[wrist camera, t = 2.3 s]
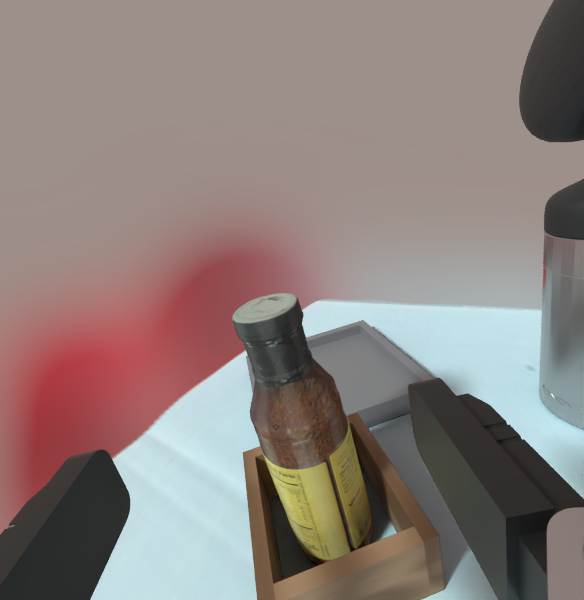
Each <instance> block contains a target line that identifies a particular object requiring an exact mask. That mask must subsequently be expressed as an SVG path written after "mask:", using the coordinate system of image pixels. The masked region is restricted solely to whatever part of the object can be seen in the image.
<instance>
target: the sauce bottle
mask: <svg viewBox="0 0 584 600" xmlns="http://www.w3.org/2000/svg"><path fill="white" fill-rule="evenodd" d="M232 318H233V323H234V327H235V329H236V333H237V335H238V337H239V339H240V340H241V341H242V342H243V343H244V346H245V348H246V351H247V354H248V357H249V360H250V363H251V366H252V373H253V375H254V377H255V382H254V391H253V398H252V403H251V409H250V416H251V420H252V423H253V425H254V428H255V430H256V433H257V435H258V438H259V442H260V445H261V449H262V452H263V455H264V458H265V460H266V463H267V466H268V469H269V471H270V474H271V476H272V479H273V481H274V484H275V487H276V489H277V492H278V494H279V497H280V499H281V502H282V504H283V507H284V509H285V512H286V514H287V517H288V520H289V522H290V525H291V527H292V530H293V533H294V535H295V538H296V540H297V542H298V543H299V545H300V546H301V548H302V549H303V551H304V552H305V553H306V555H307V556H309V557H310V559H311V560H313V561H314V562H316V563H317V564H320V565H321V564H323V563H326V562H328V561H331V560H333V559H336V558H338V557H340V556H343V555H345V554H348V553H350V552H353V551H355V550H357V549H360V548H362V547H365V546H367V545H369V543H370V540H371V538H372V533H373V522H372V519H371V508H370V503H369V499H368V495H367V491H366V488H365V484H364V480H363V476H362V473H361V469H360V465H359V461H358V457H357V453H356V450H355V446H354V442H353V438H352V434H351V430H350V426H349V422H348V418H347V416H346V414H345V412H344V410H343V406H342V401H341V398H340V394H339V391H338V390H337V387H336V384H335V381H334V379H333V377H332V376H331V375H330V374H329V373H328V372H327V371H326V370H325V369H324V368H323V367H322V366H321V365H320V364H319V363H317V362H316V361H315V360H314V359H313V358H312V353H311V351H310V350H309V348H308V344H307V341H306V337H305V334H304V331H303V326H302V319H303V312H302V310H301V307H300V304H299V302H298V298H297V297H296V296H294V295H293V294H287V293H280V294H273V295H269V296H263V297H259V298H256V299H254V300H252V301H249V302H248V303H246V304H244V305H243V306H241V307H240V308H239V309H238V310H237V311H236V312H235V313H234V315H233V317H232Z"/></svg>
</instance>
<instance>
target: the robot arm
mask: <svg viewBox="0 0 584 600" xmlns="http://www.w3.org/2000/svg"><path fill="white" fill-rule="evenodd" d="M519 104H520V112H521V116H522V120H523V122H524V124H525V126H526V128H527V129H528V130H529V131H530V132H531V134H532V135H534V136H536V137H537V138H539V139H541V140H544V141H548V142H574V141H580V140H584V0H554V1H553V3H552V5H551V6H550V8H549V10H548V12H547V14H546V15H545V17H544V19H543V21H542V23H541V25H540V27H539V29H538V31H537V33H536V36H535V38H534V41H533V43H532V46H531V49H530V51H529V53H528V56H527V60H526V63H525V66H524V70H523V75H522V80H521V85H520V95H519ZM408 394H409V402H410V410H411V418H412V425H413V433H414V438H415V441H416V445H417V448H418V450H419V453H420V455H421V457H422V459H423V461H424V463H425V465H426V467H427V469H428V470H429V472H430V474H431V476H432V478H433V480H434V482H435V483H436V485H437V487H438V489H439V491H440V493H441V494H442V496H443V498H444V500H445V502H446V504H447V505H448V507H449V509H450V511H451V513H452V515H453V517H454V518H455V520H456V522H457V524H458V526H459V528H460V529H461V531H462V533H463V535H464V537H465V539H466V541H467V542H468V544H469V546H470V548H471V550H472V552H473V553H474V555H475V557H476V559H477V561H478V563H479V565H480V566H481V568H482V570H483V572H484V574H485V576H486V577H487V579H488V581H489V583H490V585H491V587H492V588H493V590H494V592H495V594H496V596H497V598H498V600H584V499H583V498H582V497H581V496H580V495H579V494H578V493H577V492H576V491H575V490H574V489H573V488H572V487H571V486H570V485H569V484H568V483H567V482H566V481H565V480H564V479H563V478H562V477H561V476H560V475H559V474H558V473H557V472H556V471H555V470H554V469H553V468H552V467H551V466H550V465H549V464H548V463H547V462H546V461H545V460H544V459H543V458H542V457H541V456H540V455H539V454H538V453H537V452H536V451H535V450H534V449H533V448H532V447H531V446H530V445H529V444H528V443H527V442H526V441H525V440H522V439H521V437H520V435H519V434H518V433H517V432H516V431H515V430H514V429H513V428H512V427H511V426H510V425H507V423H506V421H505V420H504V419H503V418H502V417H501V416H500V415H499V414H498V413H497V412H496V411H495V410H494V409H493V408H492V407H491V406H490V405H489V404H487V403H485V402H483V401H481V400H479V399H477V398H475V397H473V396H472V395H470V394H463V395H459V396H456V395H455V394H454V393H453V392H452V391H451V390H450V388H449V387H448V386H447V385H446V384H445V383H444V382H443V380H442V379H440V378H435V379H430V380H425V381H421V382H416V383H412V384H409V385H408ZM539 394H540V399H541V400H542V402H543V404H544V405H545V406H546V407H547V408H548V409H549V410H550V411H551V412H552V413H554V414H555V415H556V416H558V417H559V418H561V419H563V420H564V421H566V422H568V423H570V424H572V425H575V426H577V427H580V428H582V429H584V179H583V180H581V181H579V182H577V183H574V184H573V185H570V186H568V187H566V188H564V189H562V190H560V191H558V192H557V193H555V194H554V195H553V196H552V197H551V198H550V199H549V200H548V202H547V204H546V207H545V215H544V258H543V293H542V322H541V352H540V382H539ZM129 511H130V496H129V492H128V490H127V488H126V486H125V484H124V482H123V480H122V478H121V476H120V474H119V472H118V470H117V468H116V466H115V464H114V462H113V460H112V458H111V457H110V455H109V453H108V452H107V451H105V450H97V451H92V452H88V453H83V454H78V455H74V456H71V457H69V458H68V459H67V460H66V461H65V462H64V463H63V465H62V466H61V467H60V469H59V470H58V471H57V472H56V474H55V475H54V476H53V478H52V479H51V480H50V481H49V483H48V484H47V485H46V486H45V487H43V488H42V489H41V490H40V491H39V492H38V493H37V494H36V495H34V496H33V497H32V498H31V499H30V500H29V501H28V502H27V503H26V504H25V505H24V506H23V508H22V509H21V510H20V511H19V513H18V514H17V515H16V516H15V518H14V519H13V520H12V521H11V522H10V524H9V528H8V529H5V530H4V531H3V532H2V534H1V535H0V600H90V599H91V597H92V595H93V592H94V590H95V588H96V586H97V584H98V582H99V579H100V577H101V575H102V573H103V571H104V569H105V566H106V564H107V562H108V560H109V558H110V556H111V553H112V551H113V549H114V547H115V545H116V543H117V540H118V538H119V536H120V534H121V532H122V530H123V527H124V525H125V523H126V521H127V518H128V515H129Z"/></svg>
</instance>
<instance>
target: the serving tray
mask: <svg viewBox="0 0 584 600" xmlns="http://www.w3.org/2000/svg"><path fill="white" fill-rule="evenodd" d="M306 341H307V344H308V348H309V350H310V351H311V353H312V358H313V359H314V360H315V361H316V362H317V363H319V364H320V365H321V366H322V367H323V368H324V369H325V370H326V371H327V372H328V373H329V374H330V375H331V376H332V377H333V379H334V381H335V384H336V387H337V390H338V391H339V394H340V398H341V401H342V406H343V410H344V412H345V414H346V416H348V415H351V414H354V413H358V414H359V416H360V417H361V419H362V420H363V422H364V423H365V425H366V426H367V428H369V427H372V426H374V425H377V424H380V423H383V422H386V421H388V420H391V419H394V418H397V417H400V416H402V415H405V414H408V413H411V410H410V402H409V394H408V385H409V384H412V383H416V382H421V381H425V380H430V379H434V378H433V377H432V376H430V375H429V374H428V373H427V372H426V371H424V370H423V369H422V368H421V367H419V366H418V365H417V364H416V363H415V362H413V361H412V360H411V359H410V358H408V357H407V356H406V355H405V354H404V353H402V352H401V351H400V350H399V349H397V348H396V347H395V346H394V345H393V344H391V343H390V342H389V341H388V340H386V339H385V338H384V337H383V336H382V335H380V334H379V333H378V332H377V331H375V330H374V329H373V328H372V327H371V326H369V325H368V324H367V323H366V322H365V321H363V320H362V321H359V322H356V323H352V324H349V325H346V326H343V327H339V328H336V329H333V330H330V331H327V332H323V333H320V334H317V335H314V336H311V337H307V338H306ZM246 358H247V364H248V369H249V375H250V380H251V386H252V392H253V391H254V382H255V377H254V375H253V373H252V366H251V363H250V360H249V357H248V356H246Z"/></svg>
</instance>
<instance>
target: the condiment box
mask: <svg viewBox="0 0 584 600" xmlns="http://www.w3.org/2000/svg"><path fill="white" fill-rule="evenodd" d="M347 418H348V422H349V426H350V430H351V434H352V438H353V442H354V446H355V450H356V453H357V457H358V461H359V465H361V467H362V469H363V471H364V472H365V474H366V476H367V478H368V480H369V482H370V484H371V485H372V487H373V489H374V491H375V493H376V495H377V497H378V498H379V500H380V502H381V504H382V506H383V508H384V509H385V511H386V513H387V515H388V517H389V519H390V521H391V522H392V524H393V526H394V528H395V530H396V532H397V533H396V534H394V535H392V536H389V537H387V538H384V539H382V540H379V541H377V542H375V543H372V544H370V545H367V546H365V547H362V548H360V549H357V550H355V551H353V552H350V553H348V554H345V555H343V556H340V557H338V558H336V559H333V560H331V561H328V562H326V563H323V564H321V565H318V566H316V567H314V568H311V569H309V570H306V571H304V572H301V573H299V574H297V575H294V576H292V577H289V578H287V579H284V580H283V576H282V570H281V564H280V558H279V552H278V546H277V541H276V535H275V529H274V523H273V517H272V511H271V506H270V500H269V498H272V497H274V496H277V495H279V494H278V492H277V489H276V487H275V484H274V481H273V479H272V476H271V474H270V471H269V469H268V466H267V463H266V460H265V458H264V455H263V452H262V449H261V446H260V447H257V448H254V449H251V450H249V451H246V452H243V458H244V469H245V479H246V489H247V499H248V509H249V520H250V530H251V540H252V550H253V560H254V571H255V581H256V591H257V600H422V599H424V598H426V597H428V596H431V595H433V594H435V593H437V592H440V591H442V590H444V589H445V586H444V577H443V568H442V559H441V550H440V541H439V535H438V534H437V532H436V531H435V529H434V528H433V526H432V525H431V523H430V522H429V520H428V519H427V517H426V516H425V514H424V513H423V511H422V509H421V508H420V506H419V505H418V503H417V502H416V500H415V499H414V497H413V496H412V494H411V493H410V491H409V490H408V488H407V487H406V485H405V484H404V482H403V481H402V479H401V478H400V476H399V475H398V473H397V472H396V470H395V469H394V467H393V466H392V464H391V463H390V461H389V459H388V458H387V456H386V455H385V453H384V452H383V450H382V449H381V447H380V446H379V444H378V443H377V441H376V440H375V438H374V437H373V435H372V434H371V432H370V431H369V429H368V428H367V426H366V425H365V423H364V422H363V420H362V419H361V417H360V416H359V414H358V413H354V414H351V415H348V416H347Z"/></svg>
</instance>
